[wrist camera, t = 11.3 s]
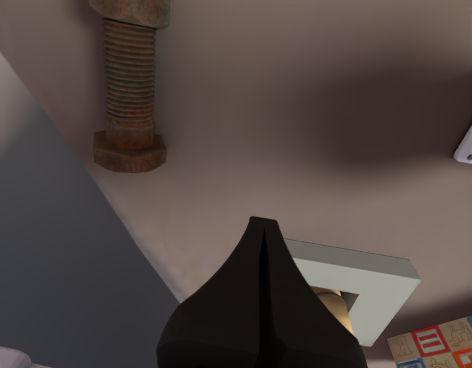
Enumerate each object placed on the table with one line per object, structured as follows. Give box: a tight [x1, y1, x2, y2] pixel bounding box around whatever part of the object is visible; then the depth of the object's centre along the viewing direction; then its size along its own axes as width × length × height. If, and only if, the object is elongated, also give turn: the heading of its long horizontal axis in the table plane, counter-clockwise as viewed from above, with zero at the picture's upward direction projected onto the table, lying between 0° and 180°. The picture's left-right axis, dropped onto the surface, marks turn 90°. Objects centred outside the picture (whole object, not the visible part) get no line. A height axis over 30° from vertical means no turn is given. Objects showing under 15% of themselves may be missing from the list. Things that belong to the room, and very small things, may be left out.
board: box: [284, 239, 421, 347], centre depth 28 cm, size 14×12×2 cm
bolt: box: [89, 0, 170, 173], centre depth 17 cm, size 6×5×15 cm
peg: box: [310, 286, 354, 335], centre depth 26 cm, size 4×4×6 cm
